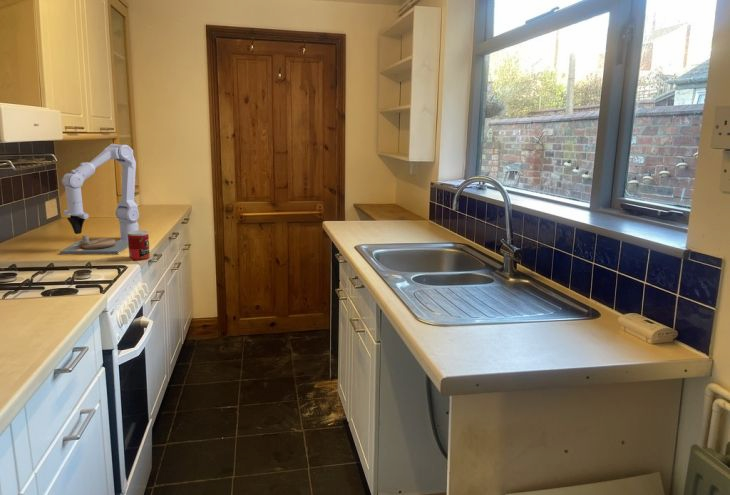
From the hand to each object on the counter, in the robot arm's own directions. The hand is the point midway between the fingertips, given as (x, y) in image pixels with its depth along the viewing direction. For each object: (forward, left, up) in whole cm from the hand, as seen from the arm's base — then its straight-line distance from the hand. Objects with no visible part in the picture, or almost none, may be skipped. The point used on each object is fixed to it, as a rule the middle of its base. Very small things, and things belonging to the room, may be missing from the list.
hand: (78, 233), depth 236 cm
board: (-2, +7, -7) cm, 10 cm away
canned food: (+13, +29, -8) cm, 33 cm away
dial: (-2, +7, -6) cm, 9 cm away
